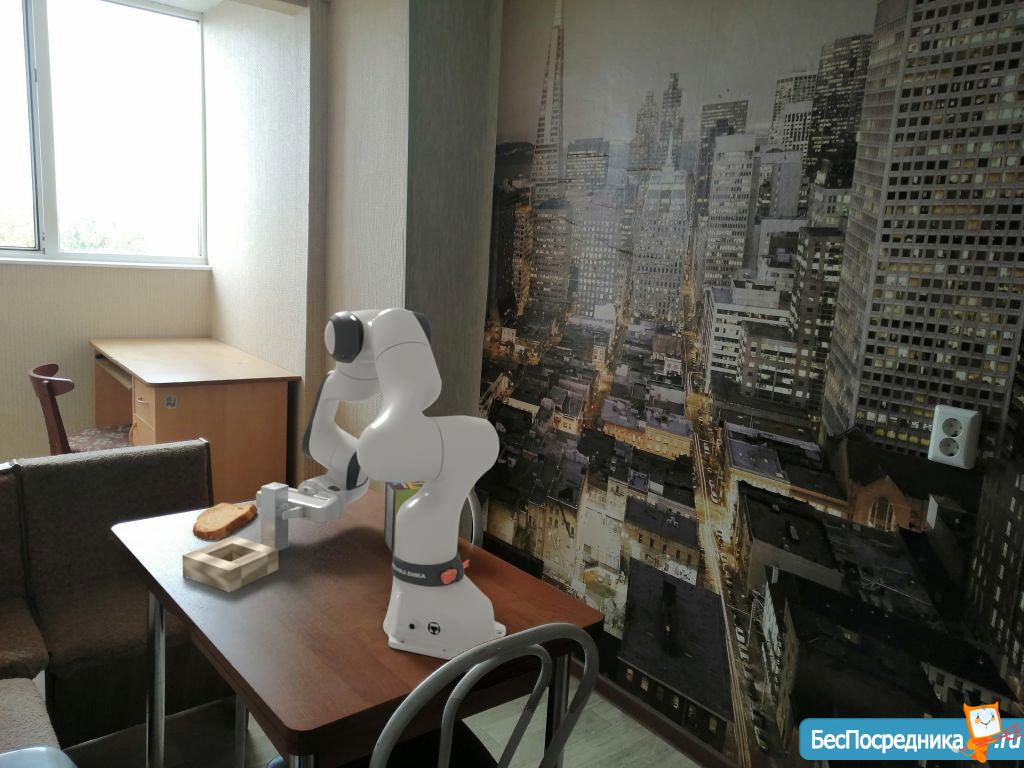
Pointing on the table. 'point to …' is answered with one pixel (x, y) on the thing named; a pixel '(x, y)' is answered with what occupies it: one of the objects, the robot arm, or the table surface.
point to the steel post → (274, 515)
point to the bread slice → (222, 520)
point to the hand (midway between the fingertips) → (271, 513)
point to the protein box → (397, 506)
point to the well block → (230, 563)
